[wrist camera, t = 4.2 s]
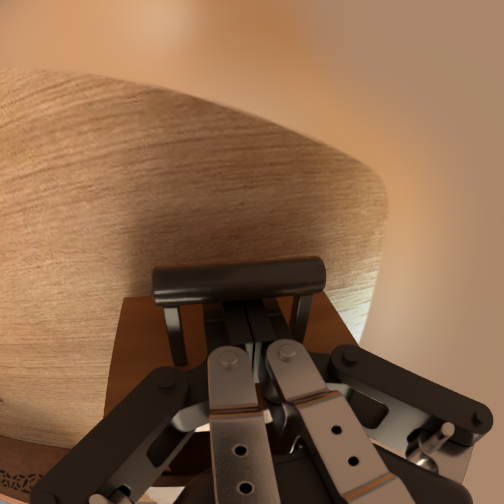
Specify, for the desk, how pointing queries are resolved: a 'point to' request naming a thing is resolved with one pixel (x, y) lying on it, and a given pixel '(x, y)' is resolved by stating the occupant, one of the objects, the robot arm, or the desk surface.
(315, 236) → the desk surface
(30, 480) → the tissue box cover
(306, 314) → the drawer
